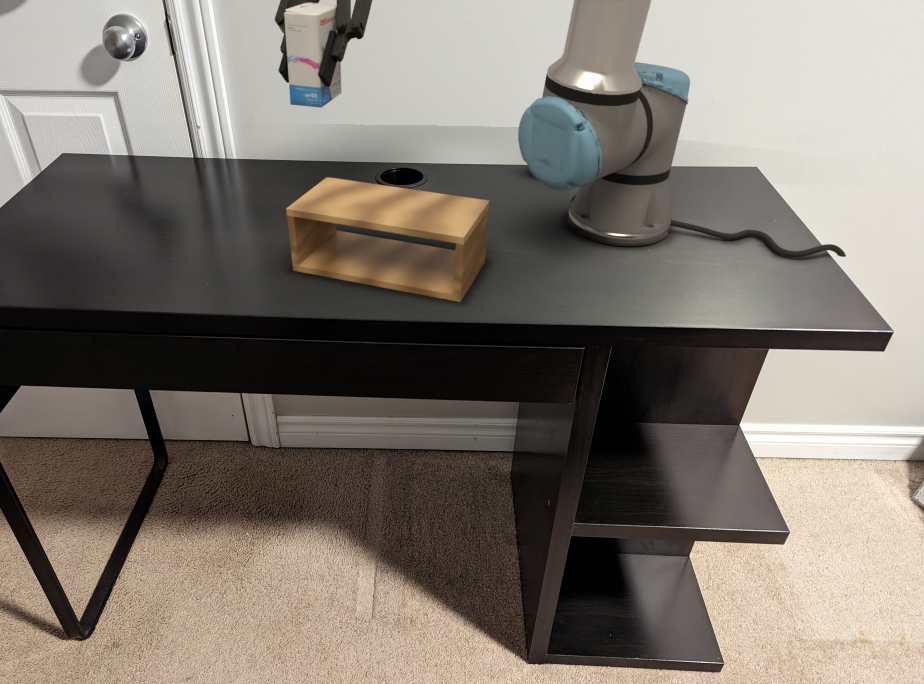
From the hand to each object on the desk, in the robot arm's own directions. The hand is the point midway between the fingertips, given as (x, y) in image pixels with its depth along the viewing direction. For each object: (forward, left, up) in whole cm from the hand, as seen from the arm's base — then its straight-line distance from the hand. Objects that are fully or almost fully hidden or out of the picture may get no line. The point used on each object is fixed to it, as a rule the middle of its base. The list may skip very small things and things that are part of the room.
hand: (304, 78), depth 93 cm
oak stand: (-16, +9, -21) cm, 28 cm away
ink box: (0, -4, -4) cm, 5 cm away
